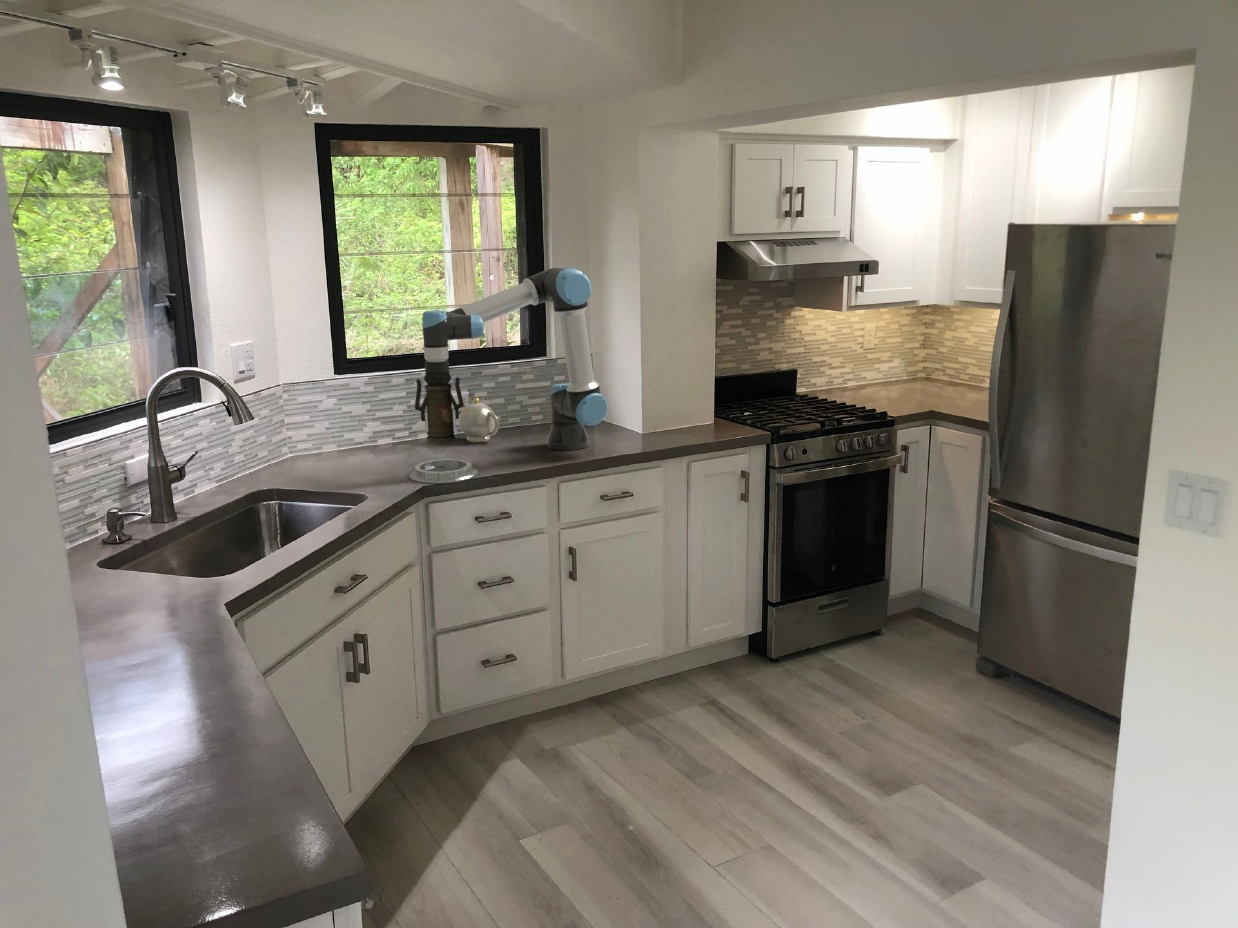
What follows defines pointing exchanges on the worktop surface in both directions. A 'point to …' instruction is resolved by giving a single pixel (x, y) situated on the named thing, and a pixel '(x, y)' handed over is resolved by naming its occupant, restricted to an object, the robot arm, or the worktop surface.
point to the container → (439, 414)
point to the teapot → (478, 422)
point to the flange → (443, 471)
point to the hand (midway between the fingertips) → (440, 430)
